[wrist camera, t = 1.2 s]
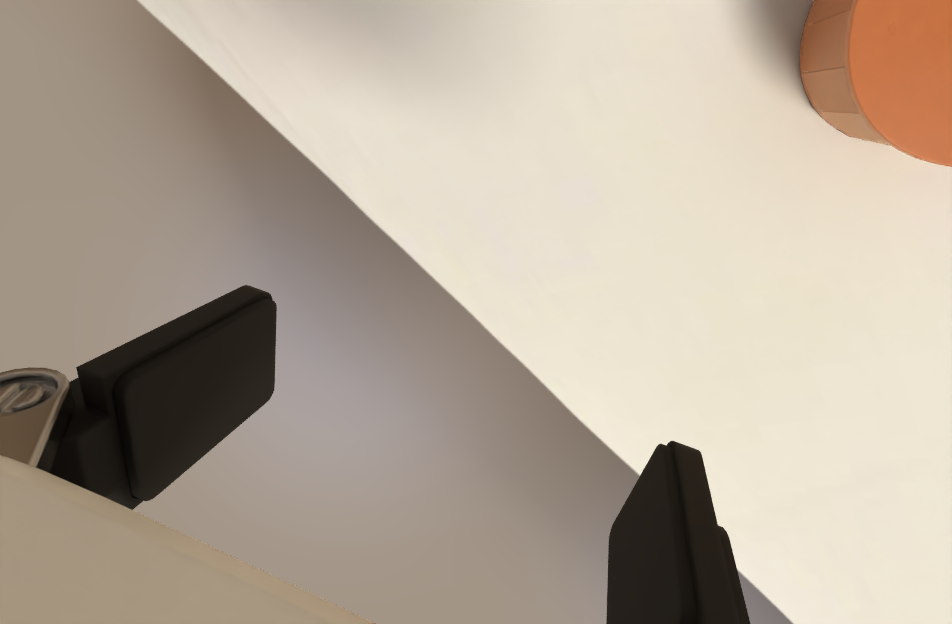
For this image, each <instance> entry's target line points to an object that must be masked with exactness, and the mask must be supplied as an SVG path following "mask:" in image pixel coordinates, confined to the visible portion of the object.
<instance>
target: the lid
mask: <svg viewBox="0 0 952 624" xmlns="http://www.w3.org/2000/svg"><path fill="white" fill-rule="evenodd" d="M844 62H845V70H846V79H847V82H848V86H849V89H850V93H851V96H852V98H853V101H854V103H855V105H856V107H857V109H858V111H859V113H860V114H861V116H862V117H863V118H864V120H865V121H866V123H867V124H868V125H869V127H870V128H871V129H872V130H873V131H874V132H875V133H876V134H877V135H879V136H880V137H881V138H882V139H883V140H884V141H886V142H887V143H889V144H890V145H891V146H893V147H894V148H896V149H897V150H899V151H901V152H904V153H906V154H908V155H910V156H912V157H914V158H917V159H921V160H924V161H927V162H931V163H934V164H939V165H945V166H951V167H952V0H853V3H852V6H851V9H850V13H849V17H848V22H847V28H846V34H845V50H844Z"/></svg>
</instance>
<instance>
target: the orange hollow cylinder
mask: <svg viewBox="0 0 952 624" xmlns="http://www.w3.org/2000/svg"><path fill="white" fill-rule="evenodd" d="M852 3H853V0H814V2H813V4H812V7H811V9H810V12H809V14H808V17H807V19H806V23H805V27H804V30H803V34H802V39H801V47H800V71H801V78H802V82H803V86H804V89H805V92H806V94H807V96H808V98H809V100H810V102H811V104H812V106H813V107H814V108H815V110H816V111H817V112H818V114H819V115H820V116H821V117H822V118H823V119H824V120H825V121H826V122H827V123H829V124H830V125H832V126H833V127H835V128H836V129H837V130H839V131H841V132H843V133H844V134H845V135H847V136H849V137H854V138H858V139H862V140H866V141H872V142H876V143H881V144H885V145H890V144H889V143H887V142H886V141H884V140H883V139H882V138H881V137H880V136H879V135H877V134H876V133H875V132H874V131H873V130H872V129H871V128H870V127H869V125H868V124H867V123H866V121H865V120H864V118H863V117H862V116H861V114H860V113H859V111H858V109H857V107H856V105H855V103H854V101H853V98H852V96H851V93H850V89H849V86H848V82H847V79H846V70H845V62H844V50H845V34H846V28H847V22H848V17H849V13H850V9H851V6H852ZM890 146H891V145H890Z"/></svg>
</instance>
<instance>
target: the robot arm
mask: <svg viewBox="0 0 952 624" xmlns="http://www.w3.org/2000/svg"><path fill="white" fill-rule="evenodd" d="M275 344H276V303H275V302H274V301H272V297H271V295H270V294H269V293H268V292H265V291H262V290H260V289H257V288H254V287H251V286H247V285H245V286H242V287H240V288H238V289H236V290H234V291H232V292H230V293H227V294H225V295H223V296H221V297H219V298H217V299H215V300H213V301H211V302H209V303H207V304H205V305H203V306H201V307H199V308H197V309H195V310H193V311H191V312H189V313H187V314H185V315H183V316H180V317H178V318H176V319H175V320H172V321H170V322H168V323H166V324H164V325H162V326H160V327H158V328H156V329H154V330H152V331H150V332H148V333H146V334H144V335H142V336H140V337H138V338H136V339H134V340H132V341H130V342H127V343H125V344H123V345H121V346H120V347H117V348H115V349H113V350H111V351H109V352H107V353H105V354H103V355H101V356H99V357H97V358H95V359H93V360H91V361H89V362H87V363H84V364H83V365H80V366H78V367H76V368H77V372H78V377H79V378H77V379H75V380H73V381H71V382H69V381H68V379H67V377H66V376H65V375H64V374H62V373H60V372H58V371H56V370H52V369H47V368H23V369H14V370H10V371H6V372H2V373H0V624H375V623H373V622H371V621H369V620H367V619H365V618H363V617H361V616H358V615H356V614H354V613H352V612H350V611H348V610H346V609H344V608H341V607H339V606H337V605H335V604H333V603H331V602H328V601H326V600H325V599H322V598H320V597H318V596H316V595H314V594H312V593H310V592H307V591H305V590H303V589H301V588H299V587H297V586H295V585H293V584H290V583H288V582H286V581H284V580H282V579H280V578H278V577H275V576H273V575H271V574H269V573H267V572H265V571H263V570H261V569H258V568H256V567H254V566H252V565H250V564H248V563H246V562H243V561H241V560H239V559H237V558H235V557H233V556H231V555H228V554H226V553H224V552H222V551H220V550H218V549H216V548H213V547H211V546H209V545H207V544H204V543H202V542H200V541H198V540H196V539H194V538H192V537H190V536H187V535H185V534H183V533H181V532H179V531H177V530H174V529H172V528H170V527H168V526H166V525H164V524H161V523H159V522H157V521H154V520H153V519H151V518H148V517H146V516H144V515H142V514H140V513H138V512H135V511H133V509H134V508H135V507H136V506H137V505H139V504H140V503H141V502H142V501H149V500H151V499H153V498H154V497H155V496H157V495H158V494H159V493H160V492H162V491H163V490H164V489H165V488H166V487H168V486H169V485H170V484H171V483H172V482H173V481H174V480H176V479H177V478H178V477H179V476H181V475H182V474H183V473H184V472H185V471H186V470H187V469H189V468H190V467H191V466H192V465H193V464H195V463H196V462H197V461H198V460H199V459H201V458H202V457H203V456H204V455H205V454H206V453H207V452H209V451H210V450H211V449H212V448H213V447H214V446H216V445H217V444H218V443H219V442H220V441H222V440H223V439H224V438H225V437H226V436H228V435H229V434H230V433H231V432H232V431H233V430H235V429H236V428H237V427H238V426H239V425H240V424H242V423H243V422H244V421H245V420H246V419H248V417H250V416H251V415H252V414H253V413H255V412H256V411H257V410H258V409H259V408H260V407H262V406H263V405H264V404H265V403H266V402H267V401H268V400H269V399H270V398H271V396H272V394H273V391H274V383H275V346H276V345H275ZM105 497H106V498H105ZM608 556H609V557H608V558H609V559H608V592H607V624H750V621H749V617H748V613H747V609H746V604H745V601H744V596H743V592H742V588H741V584H740V580H739V576H738V572H737V568H736V564H735V560H734V556H733V552H732V548H731V544H730V540H729V537H728V534H727V532H726V531H725V529H724V528H723V527H721V526H718V525H717V520H716V516H715V511H714V507H713V503H712V498H711V494H710V489H709V485H708V481H707V476H706V472H705V467H704V463H703V459H702V455H701V452H700V451H699V450H696V449H694V448H691V447H688V446H686V445H683V444H680V443H677V442H675V441H670V442H669V443H668V444H667V446H666V445H663V444H659V445H658V446H657V447H656V449H655V451H654V452H653V454H652V456H651V458H650V460H649V461H648V463H647V465H646V467H645V468H644V470H643V472H642V474H641V475H640V477H639V479H638V481H637V483H636V484H635V486H634V488H633V490H632V492H631V493H630V495H629V497H628V499H627V500H626V502H625V504H624V506H623V507H622V509H621V511H620V513H619V514H618V516H617V518H616V520H615V521H614V523H613V525H612V528H611V532H610V536H609V555H608Z"/></svg>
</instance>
